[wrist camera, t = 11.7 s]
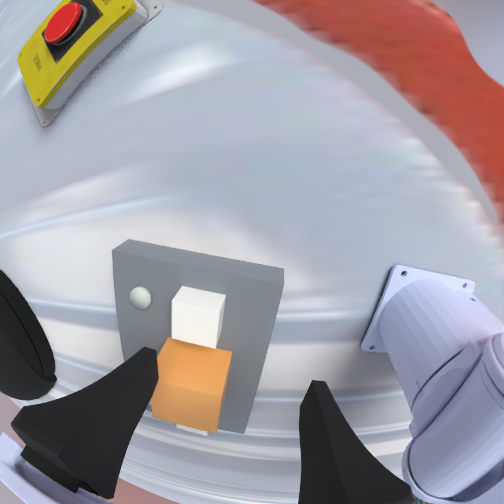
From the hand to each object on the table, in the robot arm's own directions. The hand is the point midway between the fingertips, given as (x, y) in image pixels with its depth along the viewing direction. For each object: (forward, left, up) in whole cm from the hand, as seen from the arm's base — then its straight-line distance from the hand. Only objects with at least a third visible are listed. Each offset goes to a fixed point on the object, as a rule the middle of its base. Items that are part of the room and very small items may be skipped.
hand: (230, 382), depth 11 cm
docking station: (+42, +23, -10) cm, 48 cm away
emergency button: (+18, -19, -10) cm, 28 cm away
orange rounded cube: (+3, +7, -7) cm, 10 cm away
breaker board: (+4, +7, -9) cm, 12 cm away
